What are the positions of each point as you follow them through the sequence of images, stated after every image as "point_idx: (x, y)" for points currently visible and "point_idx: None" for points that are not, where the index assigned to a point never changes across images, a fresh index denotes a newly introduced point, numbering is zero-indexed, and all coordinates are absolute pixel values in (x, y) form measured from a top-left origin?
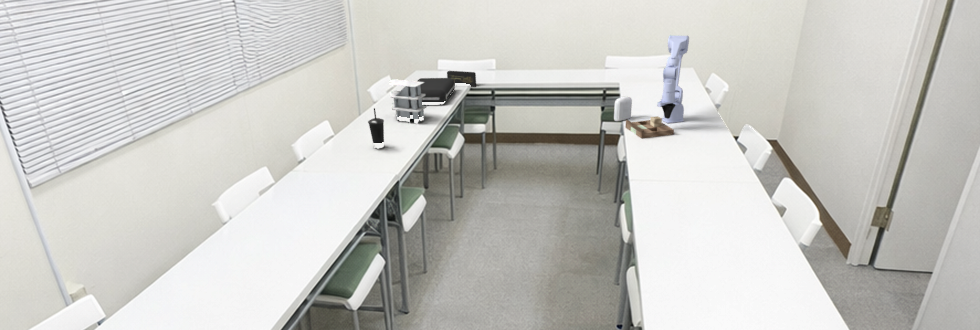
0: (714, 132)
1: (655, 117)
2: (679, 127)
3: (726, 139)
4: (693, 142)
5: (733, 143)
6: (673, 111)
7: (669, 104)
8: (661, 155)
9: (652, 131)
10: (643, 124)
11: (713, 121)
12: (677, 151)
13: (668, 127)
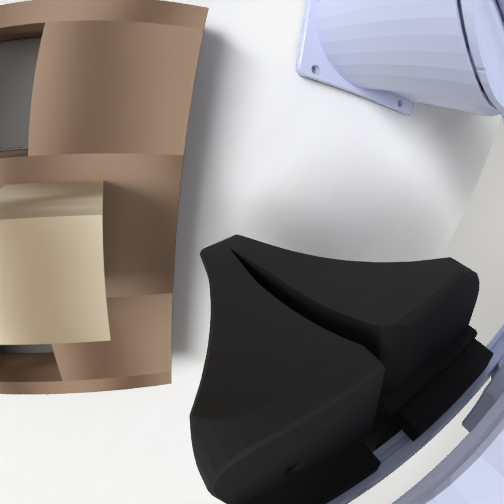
0: None
1: (31, 266)
2: (306, 213)
3: None
4: None
5: None
6: (429, 88)
7: (381, 438)
8: (22, 500)
9: None
10: (17, 35)
11: (468, 196)
12: (85, 495)
13: (155, 330)
